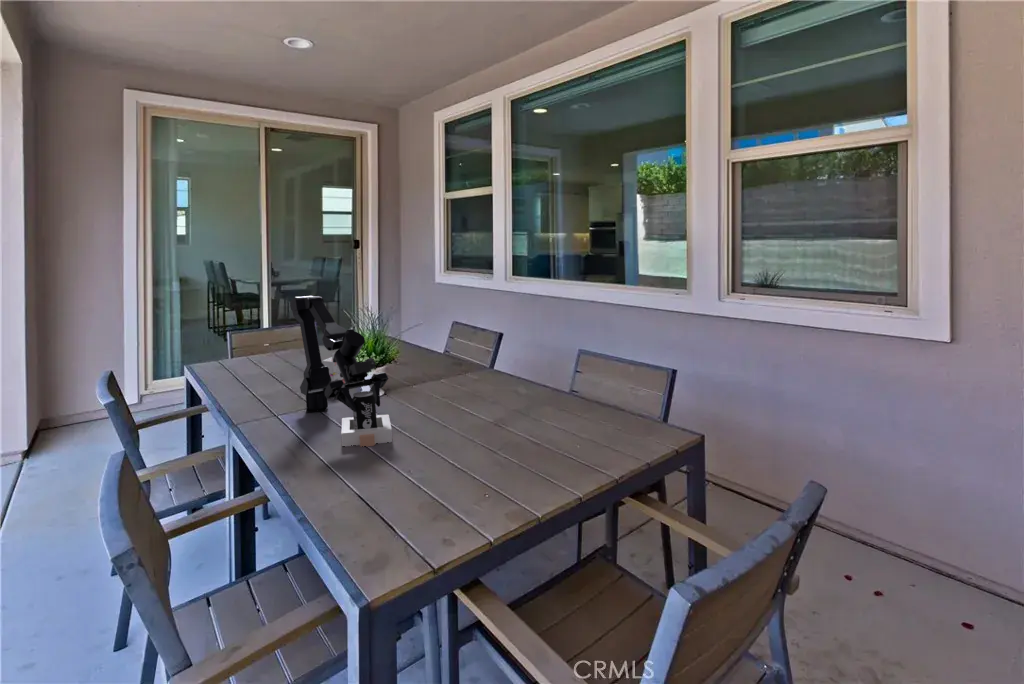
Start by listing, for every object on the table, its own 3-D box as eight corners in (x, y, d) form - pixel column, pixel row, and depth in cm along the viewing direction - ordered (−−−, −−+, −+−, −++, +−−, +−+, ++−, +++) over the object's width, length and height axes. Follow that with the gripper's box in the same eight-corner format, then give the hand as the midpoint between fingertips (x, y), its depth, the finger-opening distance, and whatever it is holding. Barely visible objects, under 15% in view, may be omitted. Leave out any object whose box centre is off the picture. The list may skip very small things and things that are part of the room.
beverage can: (381, 430, 167) (379, 391, 165) (367, 436, 161) (364, 397, 159) (364, 427, 170) (361, 390, 168) (350, 434, 164) (346, 395, 162)
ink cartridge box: (333, 384, 223) (332, 348, 220) (345, 385, 222) (343, 349, 219) (322, 390, 215) (320, 353, 212) (334, 390, 214) (332, 353, 211)
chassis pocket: (341, 448, 156) (341, 435, 155) (342, 430, 170) (342, 418, 170) (392, 444, 159) (392, 430, 159) (388, 426, 174) (388, 414, 173)
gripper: (326, 354, 157) (346, 400, 152) (384, 346, 170) (404, 388, 164) (316, 376, 164) (334, 420, 159) (372, 366, 177) (391, 407, 171)
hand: (367, 408), depth 163 cm, fingers open, 7 cm apart
